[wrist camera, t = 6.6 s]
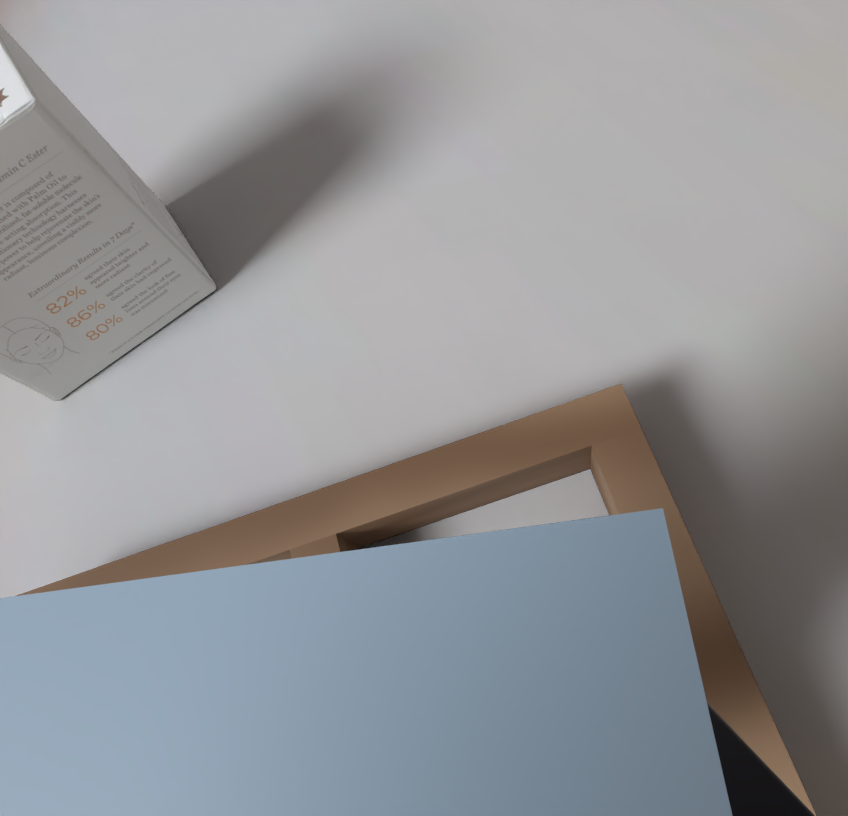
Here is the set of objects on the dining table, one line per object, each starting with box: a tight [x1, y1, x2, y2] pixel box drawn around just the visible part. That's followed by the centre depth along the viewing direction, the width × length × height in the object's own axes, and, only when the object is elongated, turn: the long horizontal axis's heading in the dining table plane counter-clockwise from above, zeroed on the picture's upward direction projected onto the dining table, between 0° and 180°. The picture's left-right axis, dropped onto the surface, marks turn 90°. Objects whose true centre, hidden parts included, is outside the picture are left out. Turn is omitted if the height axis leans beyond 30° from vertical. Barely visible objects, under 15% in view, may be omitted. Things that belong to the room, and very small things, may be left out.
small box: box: [0, 24, 216, 401], centre depth 25 cm, size 8×6×10 cm
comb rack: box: [17, 384, 816, 816], centre depth 20 cm, size 16×20×2 cm
